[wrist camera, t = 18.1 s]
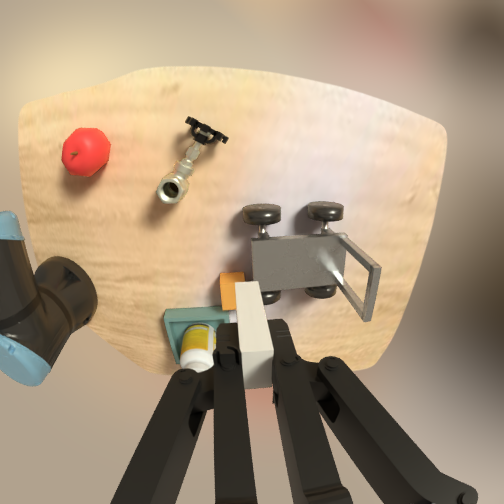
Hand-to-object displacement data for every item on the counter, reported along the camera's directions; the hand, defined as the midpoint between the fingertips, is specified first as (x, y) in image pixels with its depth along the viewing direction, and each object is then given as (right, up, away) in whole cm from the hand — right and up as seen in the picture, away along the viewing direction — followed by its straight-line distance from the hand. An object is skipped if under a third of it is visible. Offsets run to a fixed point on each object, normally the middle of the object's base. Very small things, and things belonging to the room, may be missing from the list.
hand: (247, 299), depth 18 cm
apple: (-25, +19, +18) cm, 37 cm away
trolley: (+7, +4, +28) cm, 29 cm away
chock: (-3, -3, +30) cm, 30 cm away
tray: (-10, -12, +33) cm, 36 cm away
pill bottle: (-10, -13, +33) cm, 36 cm away
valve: (-9, +17, +21) cm, 29 cm away
